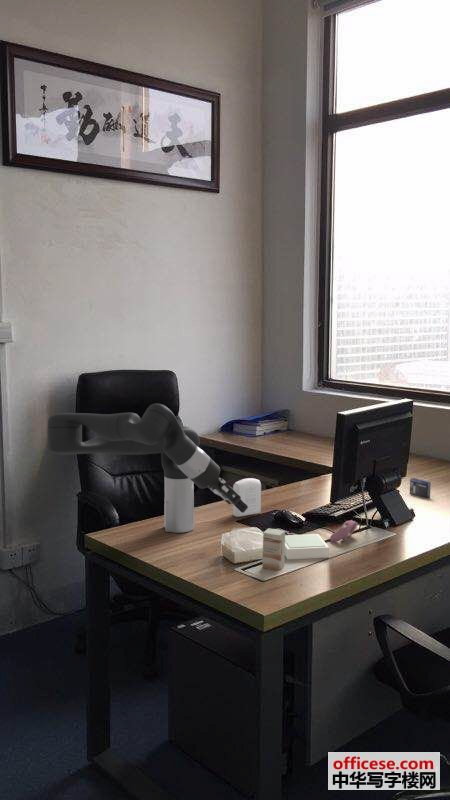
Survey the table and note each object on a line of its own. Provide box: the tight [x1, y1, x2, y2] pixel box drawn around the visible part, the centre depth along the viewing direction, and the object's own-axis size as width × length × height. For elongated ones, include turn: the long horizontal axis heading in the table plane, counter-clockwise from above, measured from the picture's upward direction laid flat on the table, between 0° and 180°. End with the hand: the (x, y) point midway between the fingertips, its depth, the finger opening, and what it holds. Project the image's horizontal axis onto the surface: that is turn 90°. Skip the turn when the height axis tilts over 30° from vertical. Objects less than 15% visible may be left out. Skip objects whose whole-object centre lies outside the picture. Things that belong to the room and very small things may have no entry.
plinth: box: [284, 533, 330, 560], centre depth 210 cm, size 12×12×3 cm
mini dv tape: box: [409, 477, 432, 499], centre depth 270 cm, size 8×2×6 cm, turn 37°
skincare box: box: [261, 527, 286, 571], centre depth 197 cm, size 5×4×10 cm
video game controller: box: [329, 519, 359, 543], centre depth 221 cm, size 10×5×7 cm, turn 149°
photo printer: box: [232, 477, 262, 518], centre depth 246 cm, size 10×4×12 cm, turn 123°
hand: (238, 505), depth 191 cm, fingers open, 8 cm apart
